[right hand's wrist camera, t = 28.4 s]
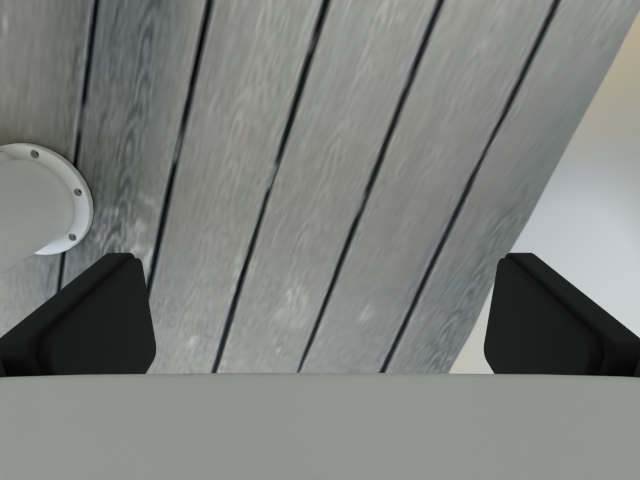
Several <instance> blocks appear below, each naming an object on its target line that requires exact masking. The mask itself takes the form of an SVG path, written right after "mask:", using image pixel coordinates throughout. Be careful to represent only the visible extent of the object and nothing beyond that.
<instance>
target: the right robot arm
mask: <svg viewBox="0 0 640 480" xmlns="http://www.w3.org/2000/svg"><path fill="white" fill-rule="evenodd" d="M38 153H39V154H38ZM80 190H81V191H82V192H81V191H80ZM93 213H94V211H93V201H92V197H91V193H90V190H89V188H88V186H87V184H86V182H85V180H84V179H83V177H82V176H81V174H80V173H79V172H78V170H77V169H76V168H75V167H74V166H73V165H72V164H71V163H70V162H69V161H67V160H66V159H65V158H63V157H62V156H61V155H59V154H57V153H56V152H54V151H52V150H50V149H48V148H45V147H42V146H39V145H35V144H29V143H14V144H8V145H3V146H0V273H2V272H4V271H5V270H7V269H9V268H10V267H12V266H14V265H15V264H17V263H19V262H20V261H22V260H24V259H25V258H27V257H29V256H31V255H32V254H39V255H52V254H57V253H61V252H64V251H66V250H68V249H70V248H72V247H73V246H75V245H76V244H78V243H79V242H80V241H81V240H82V239H83V238H84V237H85V236H86V234H87V233H88V231H89V229H90V226H91V224H92V220H93ZM155 355H156V342H155V336H154V330H153V325H152V319H151V313H150V307H149V301H148V295H147V289H146V283H145V277H144V271H143V265H142V262H141V260H140V259H139V258H135V257H134V255H133V254H132V253H107V254H106V255H104V256H103V257H102V258H100V259H99V260H98V261H97V262H95V263H94V264H93V265H92V266H90V267H89V268H88V269H87V270H85V271H84V272H83V273H82V274H80V275H79V276H78V277H77V278H75V279H74V280H73V281H72V282H70V283H69V284H68V285H67V286H65V287H64V288H63V289H61V290H60V291H59V292H58V293H56V294H55V295H54V296H53V297H51V298H50V299H49V300H48V301H46V302H45V303H44V304H43V305H41V306H40V307H39V308H38V309H36V310H35V311H34V312H33V313H31V314H30V315H29V316H27V317H26V318H25V319H24V320H22V321H21V322H20V323H19V324H17V325H16V326H15V327H14V328H12V329H11V330H10V331H9V332H7V333H6V334H5V335H4V336H2V337H1V338H0V480H640V338H639V337H638V336H636V335H635V334H634V333H633V332H631V331H630V330H629V329H628V328H626V327H625V326H624V325H622V324H621V323H620V322H619V321H618V320H616V319H615V318H614V317H613V316H611V315H610V314H609V313H607V312H606V311H605V310H604V309H602V308H601V307H600V306H599V305H597V304H596V303H595V302H594V301H592V300H591V299H590V298H589V297H587V296H586V295H585V294H584V293H582V292H581V291H580V290H579V289H577V288H576V287H575V286H573V285H572V284H571V283H570V282H568V281H567V280H566V279H565V278H563V277H562V276H561V275H560V274H558V273H557V272H556V271H555V270H553V269H552V268H551V267H550V266H548V265H547V264H546V263H545V262H543V261H542V260H541V259H539V258H538V257H537V256H536V255H534V254H533V253H508V254H507V255H506V257H505V258H501V259H500V260H499V262H498V265H497V271H496V277H495V283H494V289H493V295H492V301H491V307H490V313H489V319H488V325H487V330H486V336H485V342H484V355H485V358H486V360H487V362H488V364H489V365H490V367H491V369H492V370H493V372H494V374H428V373H201V374H146V372H147V370H148V369H149V367H150V365H151V364H152V362H153V360H154V358H155Z"/></svg>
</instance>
